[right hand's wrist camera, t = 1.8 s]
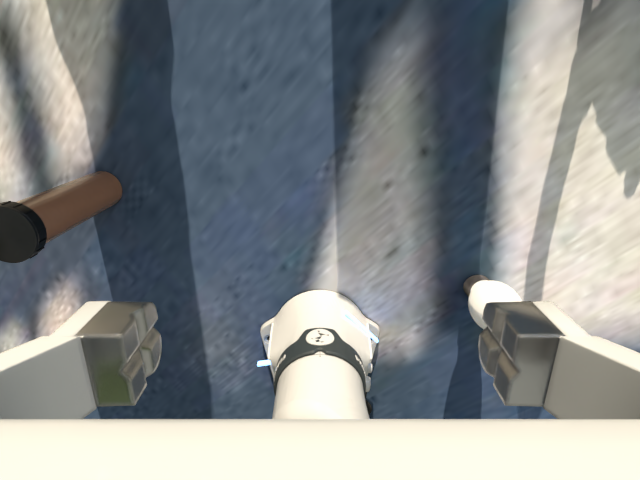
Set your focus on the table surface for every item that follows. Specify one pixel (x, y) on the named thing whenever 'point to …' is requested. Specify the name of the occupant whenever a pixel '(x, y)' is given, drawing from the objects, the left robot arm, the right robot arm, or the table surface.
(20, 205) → the lid
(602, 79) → the table surface
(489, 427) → the right robot arm
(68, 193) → the brown cylinder
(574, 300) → the table surface
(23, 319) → the table surface
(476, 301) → the light bulb
